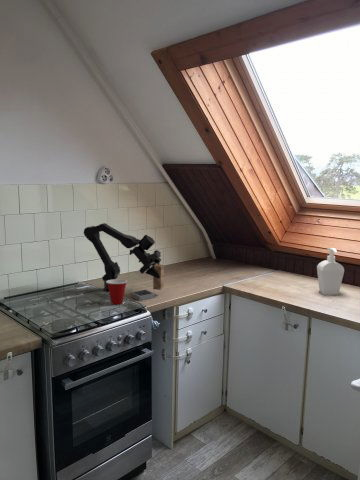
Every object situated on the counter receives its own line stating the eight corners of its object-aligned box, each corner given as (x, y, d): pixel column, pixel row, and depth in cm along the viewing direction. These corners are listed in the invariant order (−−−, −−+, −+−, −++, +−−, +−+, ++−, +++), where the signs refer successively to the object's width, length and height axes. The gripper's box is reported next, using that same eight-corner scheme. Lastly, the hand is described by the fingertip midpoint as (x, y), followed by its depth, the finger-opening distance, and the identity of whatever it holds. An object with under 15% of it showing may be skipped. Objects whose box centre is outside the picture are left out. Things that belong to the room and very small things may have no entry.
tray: (139, 301, 220) (139, 296, 220) (131, 296, 228) (131, 292, 227) (154, 297, 226) (154, 293, 225) (145, 293, 233) (145, 289, 233)
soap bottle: (321, 296, 231) (324, 250, 226) (315, 290, 240) (318, 246, 236) (344, 296, 231) (347, 250, 227) (336, 290, 241) (339, 246, 237)
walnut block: (153, 289, 229) (153, 265, 226) (156, 287, 233) (156, 264, 231) (160, 290, 227) (160, 266, 225) (163, 287, 231) (163, 264, 229)
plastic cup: (128, 299, 223) (128, 277, 221) (126, 306, 212) (126, 283, 210) (107, 299, 222) (107, 277, 220) (105, 306, 212) (104, 283, 210)
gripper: (145, 249, 219) (164, 271, 217) (158, 243, 236) (176, 264, 234) (131, 262, 222) (150, 284, 221) (145, 255, 240) (163, 276, 238)
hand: (160, 276), depth 228 cm, fingers closed on walnut block, 4 cm apart
